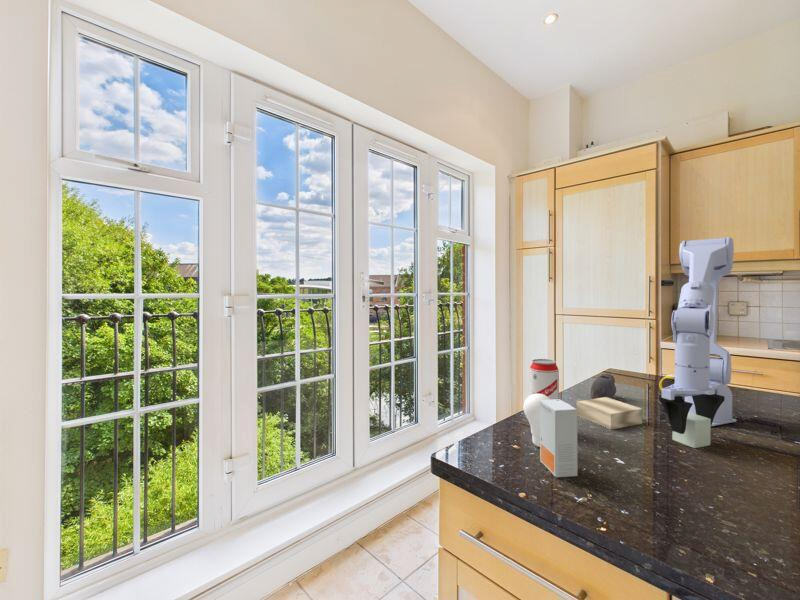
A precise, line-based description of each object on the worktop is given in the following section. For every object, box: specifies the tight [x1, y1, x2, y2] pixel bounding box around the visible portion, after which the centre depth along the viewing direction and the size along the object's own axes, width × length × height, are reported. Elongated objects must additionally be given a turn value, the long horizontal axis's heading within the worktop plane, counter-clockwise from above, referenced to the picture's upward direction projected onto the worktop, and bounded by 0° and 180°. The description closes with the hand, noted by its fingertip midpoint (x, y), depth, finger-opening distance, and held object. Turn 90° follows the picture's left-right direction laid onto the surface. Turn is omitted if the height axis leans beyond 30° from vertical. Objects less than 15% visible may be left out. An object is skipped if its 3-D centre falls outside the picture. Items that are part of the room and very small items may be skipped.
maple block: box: [576, 397, 643, 430], centre depth 91 cm, size 10×10×4 cm
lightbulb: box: [522, 394, 551, 448], centre depth 76 cm, size 6×6×11 cm
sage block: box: [671, 412, 712, 449], centre depth 77 cm, size 4×4×6 cm
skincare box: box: [539, 398, 579, 478], centre depth 67 cm, size 6×4×12 cm
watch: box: [658, 374, 675, 392], centre depth 110 cm, size 6×3×6 cm, turn 41°
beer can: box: [529, 358, 560, 400], centre depth 85 cm, size 6×6×16 cm
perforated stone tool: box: [589, 373, 617, 399], centre depth 105 cm, size 15×5×7 cm, turn 136°
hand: (691, 429), depth 77 cm, fingers open, 7 cm apart
